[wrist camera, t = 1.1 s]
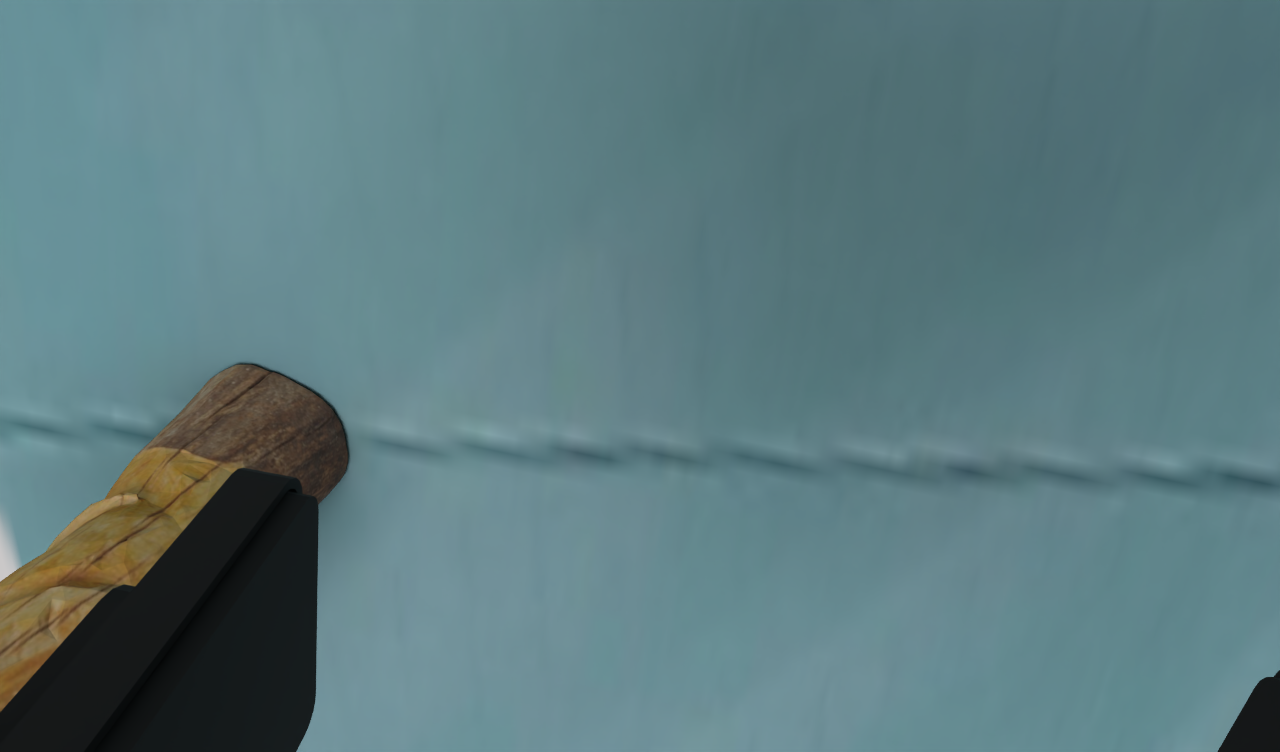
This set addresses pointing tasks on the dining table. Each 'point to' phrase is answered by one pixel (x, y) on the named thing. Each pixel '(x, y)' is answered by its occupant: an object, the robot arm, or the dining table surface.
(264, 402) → the sculpture
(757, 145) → the dining table surface
